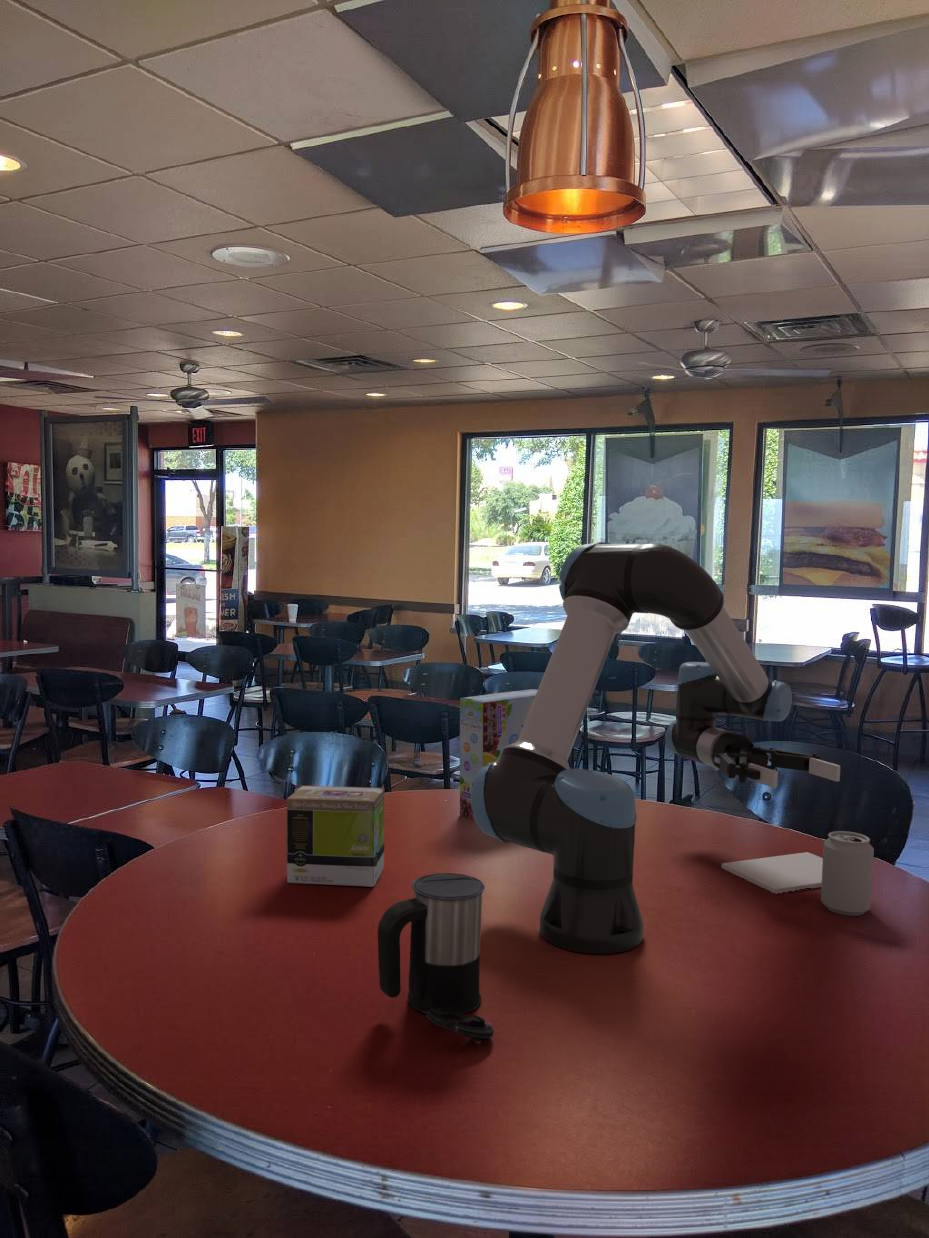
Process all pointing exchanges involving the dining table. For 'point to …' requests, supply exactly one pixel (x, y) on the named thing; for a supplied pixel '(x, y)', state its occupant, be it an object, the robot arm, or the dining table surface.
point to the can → (847, 873)
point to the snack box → (488, 734)
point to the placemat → (780, 871)
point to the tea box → (335, 835)
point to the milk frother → (438, 951)
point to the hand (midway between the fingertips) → (807, 776)
